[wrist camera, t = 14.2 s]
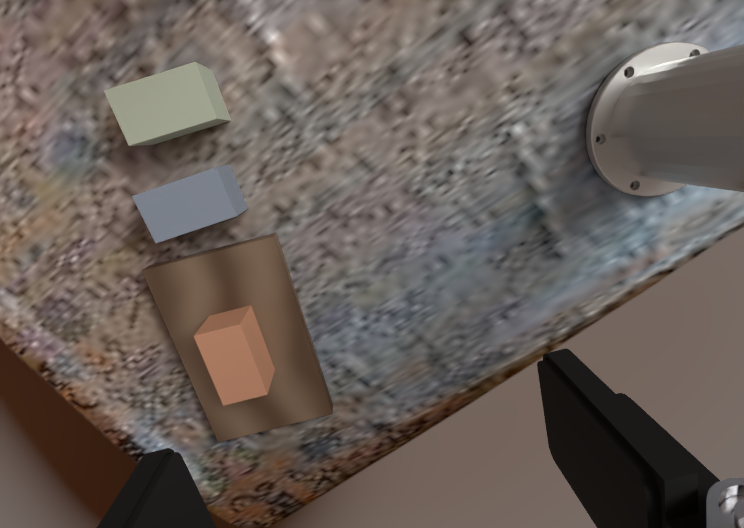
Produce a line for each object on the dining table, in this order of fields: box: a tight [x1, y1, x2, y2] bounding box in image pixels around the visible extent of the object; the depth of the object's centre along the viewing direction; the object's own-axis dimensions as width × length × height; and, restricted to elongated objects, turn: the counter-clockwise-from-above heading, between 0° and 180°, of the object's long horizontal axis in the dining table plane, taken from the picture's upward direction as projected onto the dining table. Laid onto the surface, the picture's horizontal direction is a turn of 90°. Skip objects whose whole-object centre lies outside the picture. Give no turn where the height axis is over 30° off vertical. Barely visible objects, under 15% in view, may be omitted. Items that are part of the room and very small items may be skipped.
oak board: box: [142, 233, 333, 442], centre depth 39 cm, size 12×19×2 cm, turn 14°
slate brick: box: [132, 164, 248, 243], centre depth 34 cm, size 7×4×4 cm, turn 108°
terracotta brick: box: [194, 305, 275, 406], centre depth 37 cm, size 7×4×4 cm, turn 14°
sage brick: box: [104, 62, 231, 146], centre depth 32 cm, size 7×4×4 cm, turn 106°
